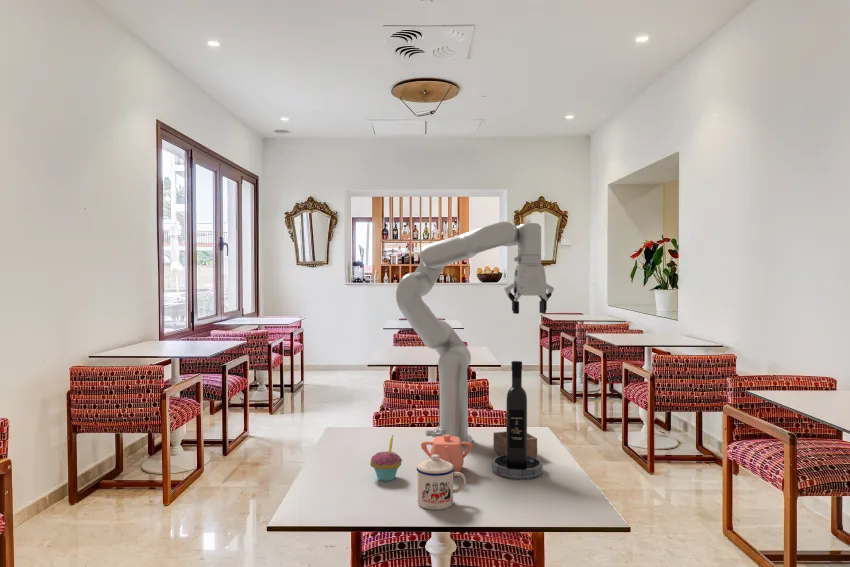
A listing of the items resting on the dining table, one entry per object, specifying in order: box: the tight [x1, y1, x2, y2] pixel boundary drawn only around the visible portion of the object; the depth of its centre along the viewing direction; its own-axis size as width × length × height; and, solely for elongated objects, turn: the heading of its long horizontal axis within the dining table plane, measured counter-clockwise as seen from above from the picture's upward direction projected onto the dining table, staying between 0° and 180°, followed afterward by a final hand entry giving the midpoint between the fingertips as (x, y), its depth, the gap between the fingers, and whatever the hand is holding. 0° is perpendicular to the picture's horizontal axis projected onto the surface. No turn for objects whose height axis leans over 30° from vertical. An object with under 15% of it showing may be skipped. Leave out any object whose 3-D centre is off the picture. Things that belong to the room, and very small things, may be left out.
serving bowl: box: [491, 455, 543, 480], centre depth 163 cm, size 14×14×3 cm
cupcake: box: [369, 434, 403, 482], centre depth 157 cm, size 9×8×12 cm
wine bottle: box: [505, 360, 528, 469], centre depth 163 cm, size 6×6×30 cm
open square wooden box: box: [493, 431, 538, 458], centre depth 178 cm, size 10×10×6 cm
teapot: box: [420, 434, 474, 472], centre depth 163 cm, size 14×12×10 cm
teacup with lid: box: [416, 454, 467, 511], centre depth 139 cm, size 12×9×12 cm
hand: (529, 313), depth 188 cm, fingers open, 9 cm apart
